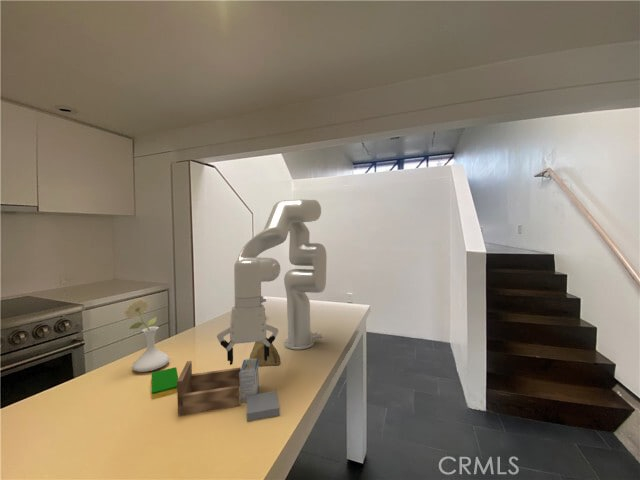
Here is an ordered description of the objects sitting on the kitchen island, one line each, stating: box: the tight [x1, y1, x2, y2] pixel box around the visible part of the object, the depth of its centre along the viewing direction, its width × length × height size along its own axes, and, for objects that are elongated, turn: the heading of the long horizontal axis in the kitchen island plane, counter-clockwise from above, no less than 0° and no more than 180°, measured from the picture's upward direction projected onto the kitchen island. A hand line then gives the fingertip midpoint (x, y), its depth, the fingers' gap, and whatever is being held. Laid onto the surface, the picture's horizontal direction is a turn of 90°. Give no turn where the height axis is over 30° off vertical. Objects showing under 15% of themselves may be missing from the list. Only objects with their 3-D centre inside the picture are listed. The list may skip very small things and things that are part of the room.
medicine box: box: [239, 358, 260, 403], centre depth 80 cm, size 8×4×9 cm, turn 8°
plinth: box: [246, 390, 280, 422], centre depth 73 cm, size 8×8×2 cm
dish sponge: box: [151, 367, 179, 400], centre depth 86 cm, size 7×14×2 cm, turn 31°
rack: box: [176, 360, 242, 417], centre depth 78 cm, size 15×12×9 cm
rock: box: [248, 341, 281, 367], centre depth 98 cm, size 11×9×10 cm
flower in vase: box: [123, 298, 170, 373], centre depth 97 cm, size 13×11×25 cm
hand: (248, 360), depth 80 cm, fingers open, 9 cm apart
